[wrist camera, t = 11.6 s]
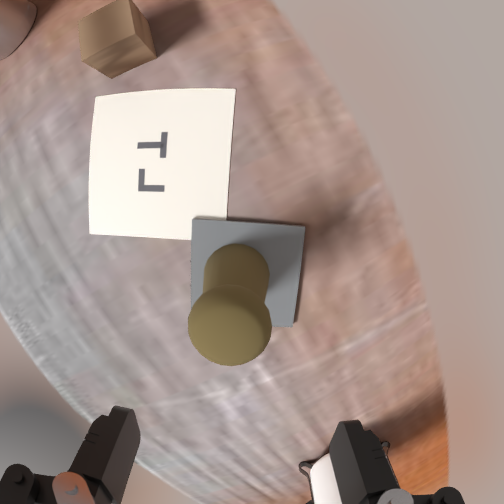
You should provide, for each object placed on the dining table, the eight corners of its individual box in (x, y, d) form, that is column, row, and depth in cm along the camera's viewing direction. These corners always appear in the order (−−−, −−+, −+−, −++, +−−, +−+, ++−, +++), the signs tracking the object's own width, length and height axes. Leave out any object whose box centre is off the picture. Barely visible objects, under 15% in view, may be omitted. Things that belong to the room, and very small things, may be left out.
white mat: (91, 233, 26) (89, 233, 26) (97, 97, 23) (95, 96, 22) (225, 241, 27) (225, 242, 26) (235, 90, 23) (235, 88, 23)
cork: (255, 233, 26) (258, 276, 15) (279, 292, 27) (294, 363, 16) (193, 257, 26) (157, 312, 15) (219, 313, 28) (204, 389, 17)
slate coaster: (192, 317, 28) (191, 320, 28) (193, 218, 26) (191, 219, 25) (291, 324, 29) (292, 327, 28) (304, 225, 26) (305, 227, 25)
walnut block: (111, 78, 22) (81, 61, 16) (105, 42, 21) (77, 21, 15) (157, 58, 22) (135, 33, 16) (148, 22, 20) (127, -5, 15)
